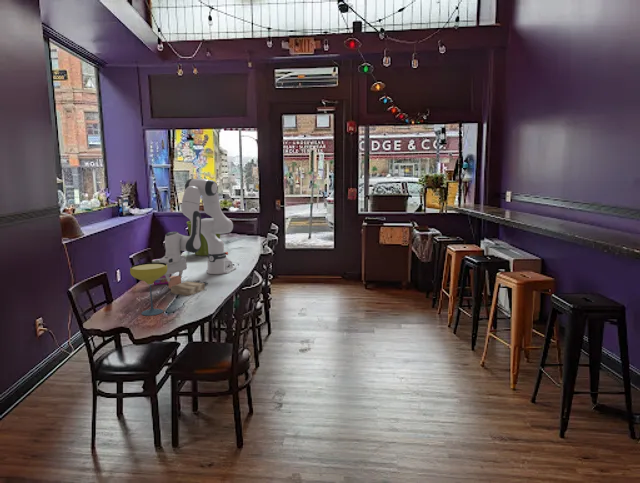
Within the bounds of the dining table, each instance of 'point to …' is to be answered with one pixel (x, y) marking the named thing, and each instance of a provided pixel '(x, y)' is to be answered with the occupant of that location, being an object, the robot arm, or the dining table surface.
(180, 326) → the dining table surface
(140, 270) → the cocktail glass
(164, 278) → the candy bar box
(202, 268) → the dining table surface
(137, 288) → the dining table surface
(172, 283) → the block
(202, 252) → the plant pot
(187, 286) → the plinth
